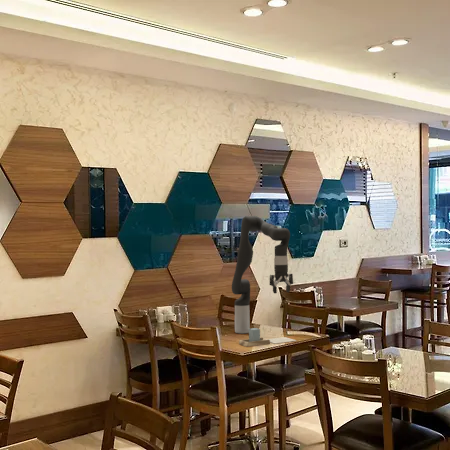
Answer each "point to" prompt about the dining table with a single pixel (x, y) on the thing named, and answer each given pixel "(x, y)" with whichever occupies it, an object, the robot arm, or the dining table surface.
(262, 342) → the shelf lane
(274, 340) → the mat
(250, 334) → the slate block
